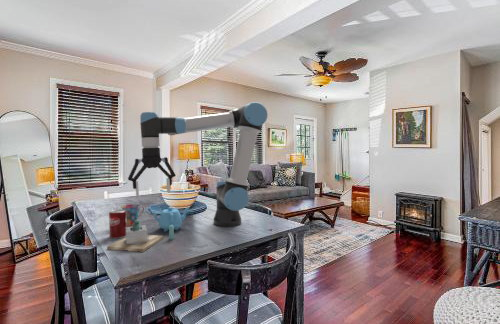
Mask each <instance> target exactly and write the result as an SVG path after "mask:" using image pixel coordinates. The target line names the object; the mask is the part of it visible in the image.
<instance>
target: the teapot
mask: <svg viewBox="0 0 500 324" xmlns="http://www.w3.org/2000/svg"><path fill="white" fill-rule="evenodd" d="M188 209H190V206H189V207H185V208H184V210H183V214H181V213H180V211H179V209H177V208H173V207H172V206H171V207H170V206H169V207H168V208H167V209H162V211H161V212H159V211H158V212H157V211H156V212H153V217H154V219H155V220H156V221H157V223H158V225H159V228H160V229H162V230H163V232H169V226H170V225H173V226H174V231H179V230H180V229H179V228H181V226H182V224H183V222H184V220H185V219H186V216H187V213H188ZM158 215H159V217H158Z"/></svg>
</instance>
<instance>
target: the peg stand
mask: <svg viewBox="0 0 500 324" xmlns="http://www.w3.org/2000/svg"><path fill="white" fill-rule="evenodd" d="M139 221H140V219H139V220H134V224H132V228H133V230H140V229H141V225H142V224H141V222H140V223H139ZM163 239H164V235H157V234H156V235H154V234H147V242H140V243H133V244H126V236H125V237H123V238H120V239H119V240H117V241H115V242H113V243H111V244H109V245H108V246H107V250H110V249H111V250H112V251H113V250H114V251H123V250H128V251H127V252H137V251H140V252H141V253H144V252H145V251H147V250H148V248H149V249H150V248H151V247H153V246H154V245H156V244H158V243H159V242H161V241H162V240H163ZM140 252H139V253H140Z"/></svg>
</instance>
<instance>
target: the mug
mask: <svg viewBox="0 0 500 324" xmlns="http://www.w3.org/2000/svg"><path fill="white" fill-rule="evenodd" d="M141 208H142V210H141V212H140V214H139V211H140V209H141ZM121 209H122V210H126V212H127V227H132V224H134V220H139V223H140V224H141V221H140V218H139V217H140V216H142V214H143V212H144V209H145V207H144V206H142V205H141V204H139V203H134V204H133V203H132V204H131V203H130V204H124V205H122V206H121Z"/></svg>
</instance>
